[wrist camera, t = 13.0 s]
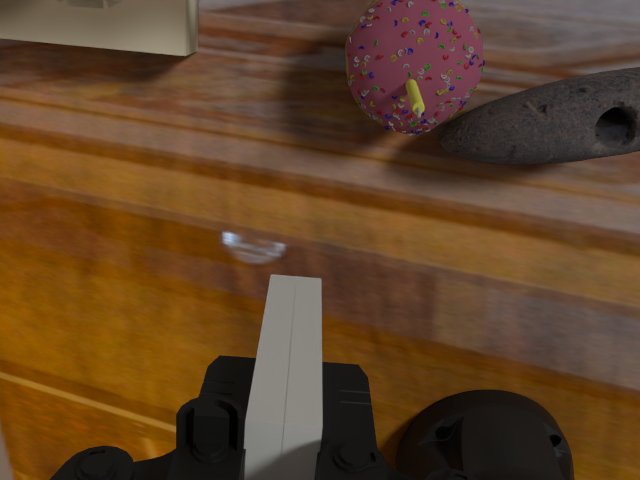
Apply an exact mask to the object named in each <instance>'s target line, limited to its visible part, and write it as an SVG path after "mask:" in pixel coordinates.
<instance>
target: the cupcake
mask: <svg viewBox="0 0 640 480" xmlns="http://www.w3.org/2000/svg"><path fill="white" fill-rule="evenodd" d="M345 63H346V73H347V79H348V85H349V88H350V91H351V93H352V95H353V97H354V99H355V101H356V102H357V104H358V105H359V107H360V108H361V109H362V110H363V111H364V112H365V113H366V114H367V115H368V116H369V117H370V118H372V119H373V120H374V121H376V122H378V123H379V124H381V125H383V126H384V127H385V129H391V130H394V131H397V132H400V133H405V134H407V135H409V134H410V135H409V136H411V135H412V134H414V133H415V134H419V133H422V132H428V131H430V130H431V129H433V128H435V127H436V126H437V125H439V124H440V123H442V122H443V121H445V120H446V119H449V118H451V116H452V115H453V114H455V113H456V112H457V111H458V110H461V109H463V106H464V105H465V103H466V102H467V100H468V98H470V95H471V94H472V92H473V91H474V90H476V89H477V87H476V86H477V84H478V83H479V81H480V78H481V73H482V71H483V66H484V64H485V62H484V60H483V44H482V38H481V35H480V31H479V29H477V27H476V25H475V23H474V21H473V20H472V18H471V16H470V14H469V13H468V10H467V9H466V8H465V7H464V6H463V4H462V3H461V2H459V1H458V0H374V1H373V2H372V3H371V5H370V6H369V7H368V8H367V10H366V11H365V12H364V14H363V15H362V16H361V18H360V19H359V20H358V22H357V23H356V25H355V26H354V28H353V29H352V31H351V32H350V34H349V36H348V38H347V40H346V45H345ZM475 87H476V88H475Z"/></svg>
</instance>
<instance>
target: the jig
mask: <svg viewBox="0 0 640 480" xmlns="http://www.w3.org/2000/svg"><path fill="white" fill-rule="evenodd" d="M0 38H3V39H13V40H23V41H34V42H44V43H54V44H65V45H75V46H86V47H96V48H106V49H117V50H127V51H137V52H148V53H158V54H168V55H179V56H187V55H189V54H192V53H194V52H197V51H198V0H0Z"/></svg>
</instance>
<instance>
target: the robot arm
mask: <svg viewBox="0 0 640 480" xmlns="http://www.w3.org/2000/svg"><path fill="white" fill-rule="evenodd" d="M396 467H397V470H395V469H394V468H392V467H391V466H390V465H388V464H387V463H386V462H385V461H384V458H383V456H382V453H381V452H380V451H379V450H378V448H377V443H376V435H375V428H374V420H373V412H372V405H371V397H370V390H369V382H368V377H367V376H366V374H365V373H364V372H363V370H362V369H361V368H360V366H359V365H355V364H342V363H329V362H322V300H321V279H320V278H308V277H296V276H284V275H271V277H270V283H269V289H268V295H267V300H266V306H265V312H264V317H263V323H262V329H261V334H260V340H259V346H258V351H257V357H256V358H246V357H233V356H219V357H218V358H216V359H215V360H214V361H213V362H212V363H211V364H210V365H209V366H208V368H207V371H206V375H205V378H204V383H203V384H202V388H201V391H200V394H199V397H198V398H195V399H192V400H190V401H189V402H187V403H186V404H184V405H183V406H181V408H180V409H179V411H178V413H177V414H176V449H174V450H173V451H172V452H170V453H168V454H165V455H163V456H161V457H157V458H153V459H148V460H142V461H137V462H133V459H132V458H131V456H130V455H129V454H128V453H127V452H126V451H124V450H122V449H120V448H118V447H111V446H99V447H93V448H88V449H86V450H84V451H81V452H79V453H77V454H75V455H74V456H73V457H71V458H70V459H69V460H68V461H66V462H65V463H64V465H63V466H62V467H61V468H60V469H59V470H58V471H57V472H56V473H55V474H54V476H53V477H52V478H51V479H50V480H575V479H574V470H573V460H572V455H571V451H570V448H569V445H568V443H567V440H566V439H565V437H564V435H563V433H562V431H561V430H560V428H559V426H558V424H557V423H556V421H555V420H554V418H553V417H552V416H551V414H550V413H549V412H548V411H547V410H546V409H544V408H543V407H542V406H541V405H539V404H538V403H536V402H535V401H533V400H531V399H529V398H527V397H524V396H522V395H519V394H516V393H512V392H507V391H500V390H477V391H470V392H465V393H461V394H457V395H454V396H451V397H449V398H446V399H444V400H442V401H440V402H438V403H436V404H434V405H433V406H431V407H430V408H428V409H427V410H425V411H424V412H423V413H422V414H420V415H419V416H418V417H417V418H416V419H415V420H414V421H413V422H412V424H411V425H410V426H409V427H408V429H407V430H406V432H405V433H404V435H403V437H402V439H401V442H400V444H399V447H398V451H397V458H396Z"/></svg>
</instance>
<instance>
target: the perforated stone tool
mask: <svg viewBox="0 0 640 480" xmlns="http://www.w3.org/2000/svg"><path fill="white" fill-rule="evenodd" d="M438 139H439V140H438V142H439V144H440V145H441V146H442V147H443V148H444V149H445V150H446V151H448V152H449V153H452V154H454V155H457V156H459V157H462V158H465V159H469V160H473V161H478V162H487V163H492V164H501V165H522V164H551V163H564V162H574V161H583V160H587V159H593V158H602V157H608V156H615V155H621V154H627V153H632V152H637V151H640V67H637V68H628V69H621V70H613V71H607V72H599V73H595V74H589V75H584V76H579V77H573V78H568V79H564V80H560V81H557V82H553V83H548V84H544V85H541V86H538V87H534V88H531V89H528V90H525V91H521V92H518V93H515V94H512V95H509V96H506V97H504V98H501V99H498V100H495V101H492V102H489V103H487V104H484V105H482V106H480V107H477V108H475V109H473V110H471V111H469V112H467V113H466V114H464V115H463V116H461V117H459V118H457V119H456V120H454V121H453V122H452V123H450V124H449V125H448V126H447V127H446V128H445V129H444V130H443V131H442V132H441V133H440V134H439V136H438Z"/></svg>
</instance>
